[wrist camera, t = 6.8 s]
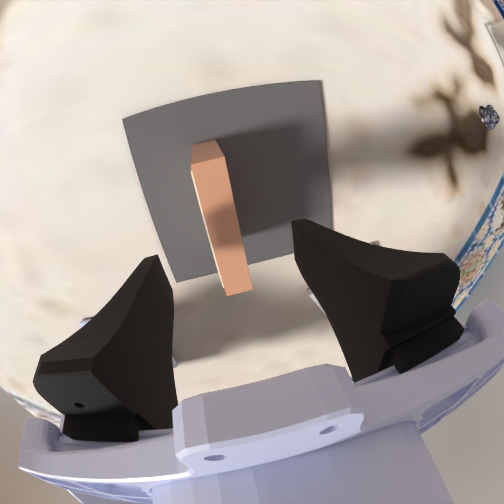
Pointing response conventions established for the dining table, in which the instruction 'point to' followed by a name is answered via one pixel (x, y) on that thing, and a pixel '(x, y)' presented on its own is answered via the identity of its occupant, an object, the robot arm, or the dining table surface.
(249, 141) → the mat
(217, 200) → the terracotta tile
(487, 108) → the blueberries
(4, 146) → the dining table surface
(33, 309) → the dining table surface
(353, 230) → the dining table surface
